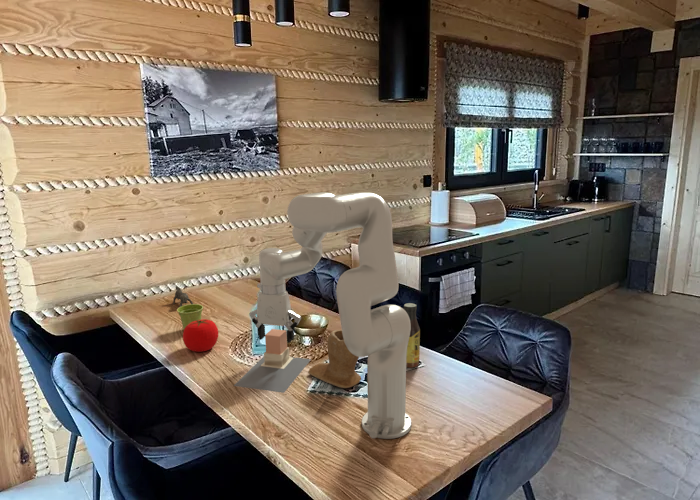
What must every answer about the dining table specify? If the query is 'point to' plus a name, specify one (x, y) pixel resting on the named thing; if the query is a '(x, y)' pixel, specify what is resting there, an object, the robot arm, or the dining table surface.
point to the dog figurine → (181, 297)
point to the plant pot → (190, 313)
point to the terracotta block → (276, 341)
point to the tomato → (200, 335)
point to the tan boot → (337, 364)
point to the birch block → (276, 358)
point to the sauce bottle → (413, 337)
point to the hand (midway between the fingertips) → (276, 339)
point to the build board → (273, 375)
